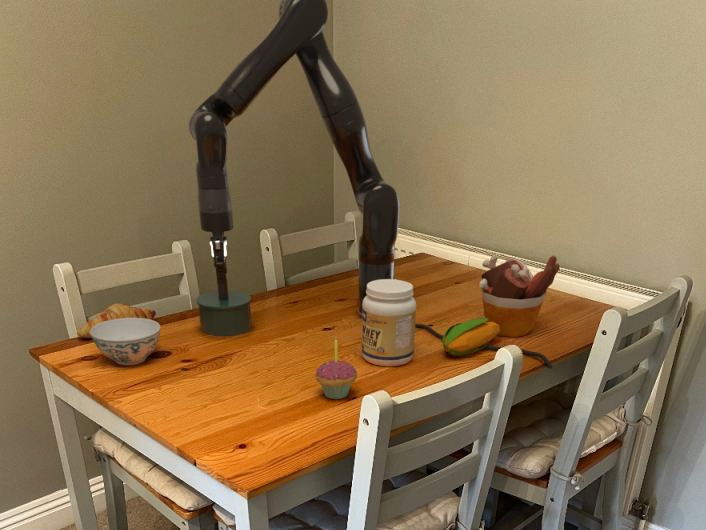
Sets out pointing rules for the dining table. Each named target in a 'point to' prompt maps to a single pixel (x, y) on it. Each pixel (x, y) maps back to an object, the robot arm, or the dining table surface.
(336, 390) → the cupcake
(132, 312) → the croissant
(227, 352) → the dining table surface
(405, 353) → the supplement tub
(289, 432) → the dining table surface
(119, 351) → the chinaware
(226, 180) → the robot arm
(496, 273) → the bucket of meat
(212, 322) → the pot
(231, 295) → the lid
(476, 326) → the corn
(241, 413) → the dining table surface
